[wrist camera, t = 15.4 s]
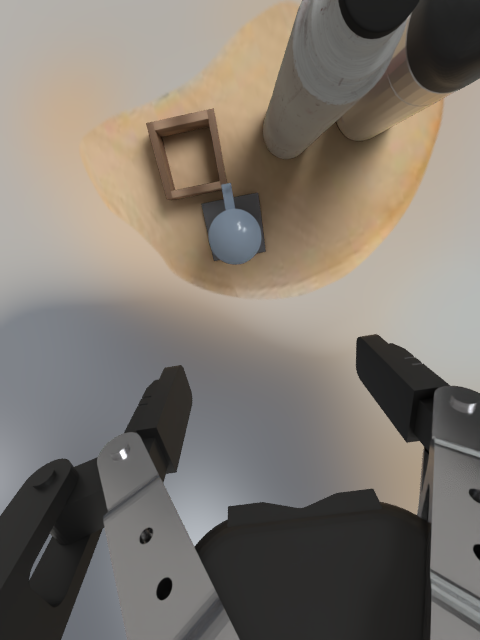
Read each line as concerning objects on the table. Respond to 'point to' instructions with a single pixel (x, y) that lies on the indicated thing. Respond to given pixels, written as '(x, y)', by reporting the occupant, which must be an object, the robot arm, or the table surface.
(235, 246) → the jug
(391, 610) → the robot arm
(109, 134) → the table surface
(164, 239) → the table surface
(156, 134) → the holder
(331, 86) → the thermos bottle
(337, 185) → the table surface
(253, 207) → the mat
